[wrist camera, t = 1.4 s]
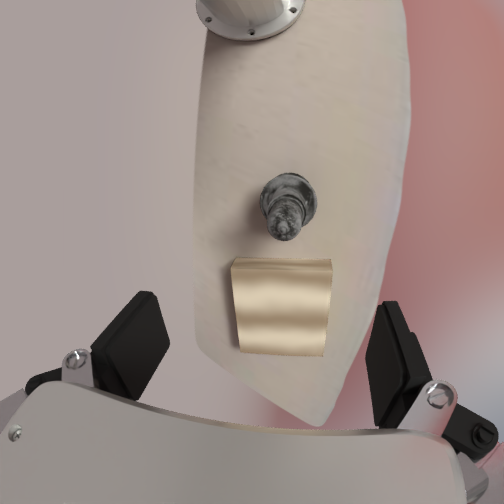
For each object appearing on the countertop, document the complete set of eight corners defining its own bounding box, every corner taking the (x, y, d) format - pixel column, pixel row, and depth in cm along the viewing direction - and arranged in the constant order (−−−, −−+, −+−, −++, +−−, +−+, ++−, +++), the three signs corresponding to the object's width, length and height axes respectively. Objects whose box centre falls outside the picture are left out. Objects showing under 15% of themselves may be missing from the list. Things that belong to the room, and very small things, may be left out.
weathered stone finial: (258, 209, 32) (234, 252, 22) (273, 163, 30) (256, 181, 19) (305, 226, 32) (305, 277, 21) (322, 180, 29) (334, 209, 19)
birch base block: (236, 257, 35) (230, 268, 33) (330, 259, 33) (332, 270, 30) (244, 338, 41) (240, 352, 38) (322, 342, 39) (322, 356, 36)
